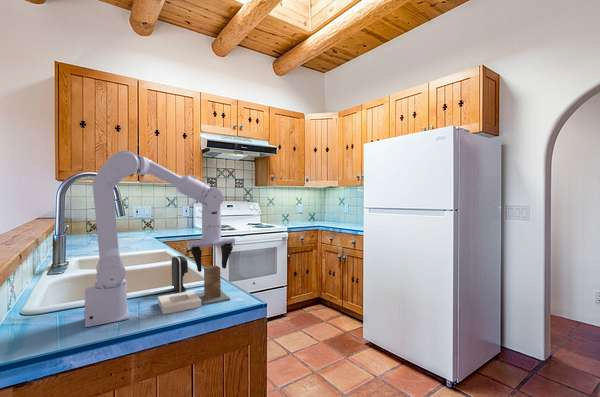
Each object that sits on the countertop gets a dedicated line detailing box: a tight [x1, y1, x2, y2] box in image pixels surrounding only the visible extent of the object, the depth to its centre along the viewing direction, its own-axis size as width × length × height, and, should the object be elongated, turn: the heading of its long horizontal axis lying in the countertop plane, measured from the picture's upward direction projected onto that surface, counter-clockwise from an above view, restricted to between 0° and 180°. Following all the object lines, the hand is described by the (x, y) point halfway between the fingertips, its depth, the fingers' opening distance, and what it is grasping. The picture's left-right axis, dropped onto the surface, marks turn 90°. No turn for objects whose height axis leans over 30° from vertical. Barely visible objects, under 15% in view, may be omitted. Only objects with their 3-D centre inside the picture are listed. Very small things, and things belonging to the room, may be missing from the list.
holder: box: [157, 290, 202, 315], centre depth 90 cm, size 10×10×2 cm
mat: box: [196, 290, 231, 306], centre depth 96 cm, size 8×10×1 cm
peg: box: [203, 265, 222, 299], centre depth 96 cm, size 4×4×9 cm
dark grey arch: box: [171, 255, 189, 293], centre depth 104 cm, size 7×4×11 cm, turn 38°
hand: (211, 269), depth 96 cm, fingers open, 7 cm apart
